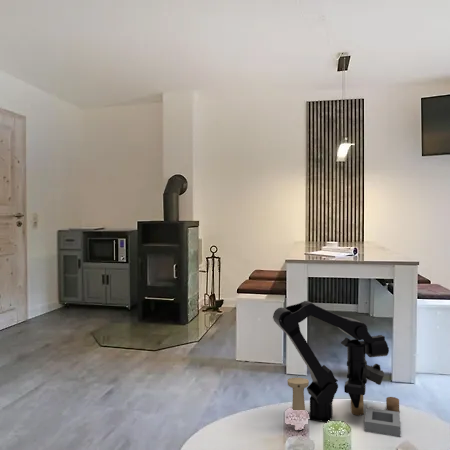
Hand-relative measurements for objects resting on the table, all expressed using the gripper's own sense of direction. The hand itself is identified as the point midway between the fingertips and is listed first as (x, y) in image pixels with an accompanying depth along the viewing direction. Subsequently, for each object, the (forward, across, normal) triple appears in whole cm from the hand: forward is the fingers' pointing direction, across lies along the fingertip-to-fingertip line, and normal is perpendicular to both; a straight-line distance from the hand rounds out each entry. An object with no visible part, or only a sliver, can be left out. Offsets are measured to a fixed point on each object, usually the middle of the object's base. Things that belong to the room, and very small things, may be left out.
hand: (357, 405), depth 141 cm
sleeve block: (+3, -7, -8) cm, 11 cm away
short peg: (+3, +5, -11) cm, 12 cm away
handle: (+3, -17, +16) cm, 24 cm away
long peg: (+2, 0, 0) cm, 2 cm away
